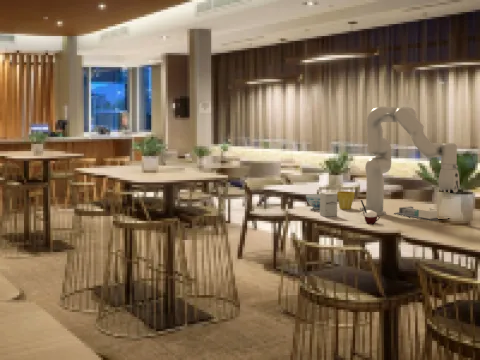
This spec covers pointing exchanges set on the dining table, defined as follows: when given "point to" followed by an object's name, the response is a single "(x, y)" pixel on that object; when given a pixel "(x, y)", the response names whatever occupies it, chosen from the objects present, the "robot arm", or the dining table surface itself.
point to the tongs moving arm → (412, 209)
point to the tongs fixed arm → (408, 211)
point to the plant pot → (345, 199)
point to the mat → (417, 217)
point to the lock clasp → (428, 213)
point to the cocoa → (370, 215)
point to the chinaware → (314, 200)
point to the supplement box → (328, 204)
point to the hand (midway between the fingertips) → (448, 202)
